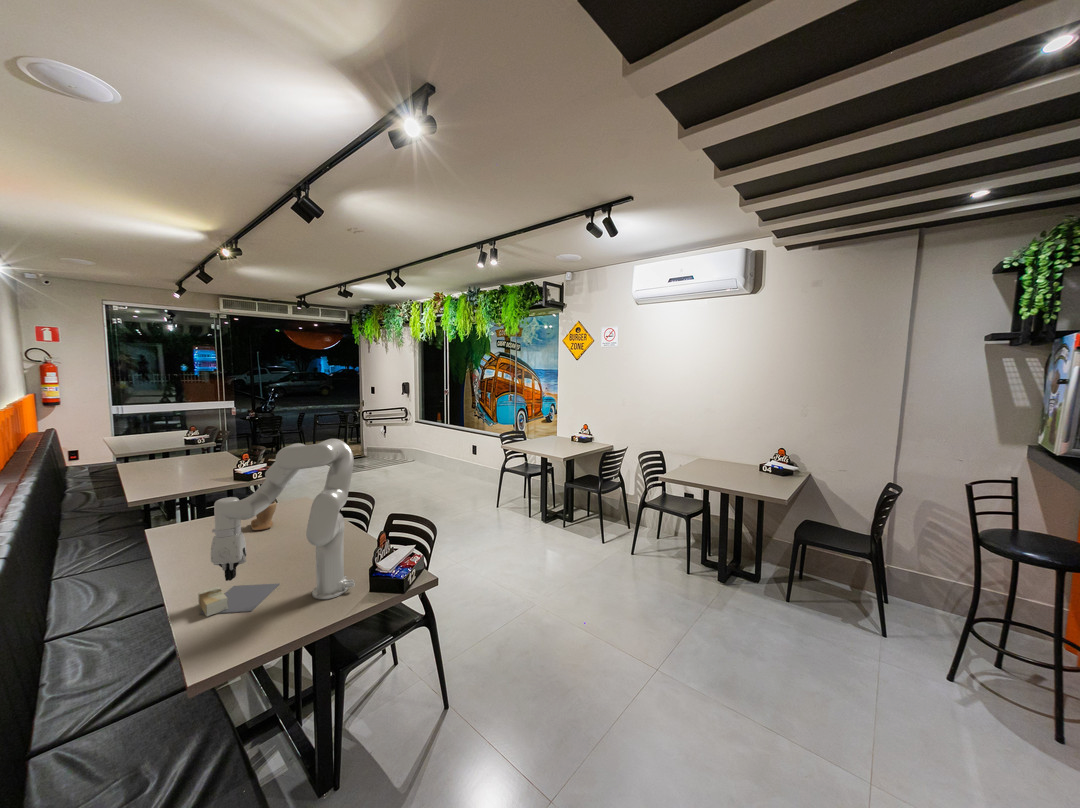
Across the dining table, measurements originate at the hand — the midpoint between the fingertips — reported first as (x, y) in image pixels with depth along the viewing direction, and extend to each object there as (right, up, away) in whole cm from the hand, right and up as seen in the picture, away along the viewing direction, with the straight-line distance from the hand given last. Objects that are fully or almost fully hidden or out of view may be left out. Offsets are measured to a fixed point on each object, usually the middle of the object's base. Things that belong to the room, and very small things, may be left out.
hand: (230, 578), depth 149 cm
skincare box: (-7, -5, -2) cm, 9 cm away
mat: (+4, -8, +1) cm, 9 cm away
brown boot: (-39, -3, +73) cm, 83 cm away
